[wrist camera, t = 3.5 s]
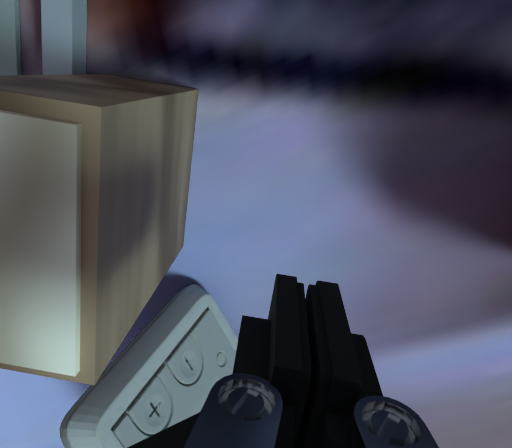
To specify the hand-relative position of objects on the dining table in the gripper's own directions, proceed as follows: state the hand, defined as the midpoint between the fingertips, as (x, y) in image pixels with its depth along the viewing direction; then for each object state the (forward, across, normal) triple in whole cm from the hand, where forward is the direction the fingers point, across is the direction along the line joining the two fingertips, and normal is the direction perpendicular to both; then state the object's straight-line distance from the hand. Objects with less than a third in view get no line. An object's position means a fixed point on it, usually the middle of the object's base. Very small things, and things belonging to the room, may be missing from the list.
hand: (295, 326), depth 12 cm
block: (+13, +8, 0) cm, 15 cm away
